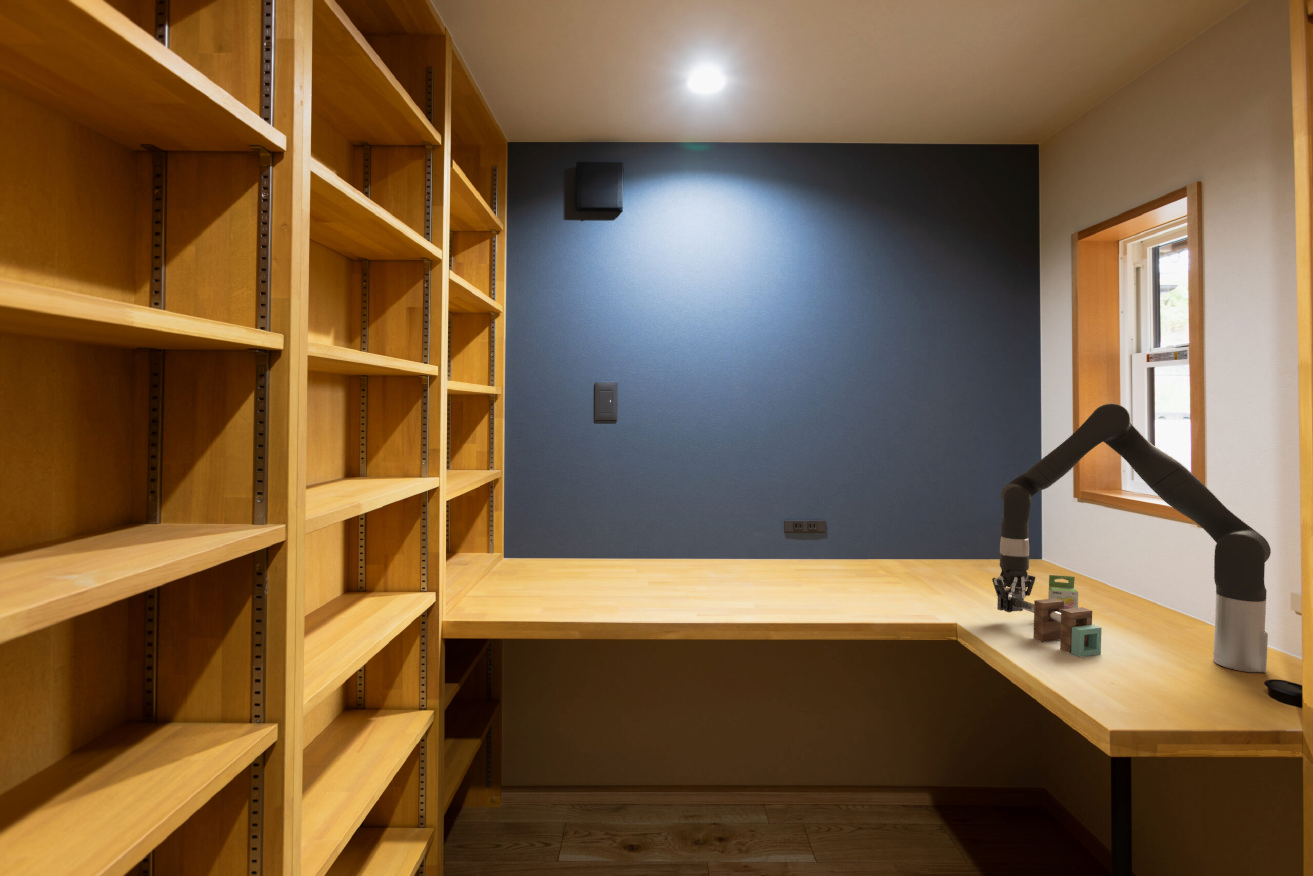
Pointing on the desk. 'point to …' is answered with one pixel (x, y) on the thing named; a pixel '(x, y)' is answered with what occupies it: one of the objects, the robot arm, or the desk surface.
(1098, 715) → the desk surface
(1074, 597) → the ink box
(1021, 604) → the shaft
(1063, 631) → the bearing blocks
